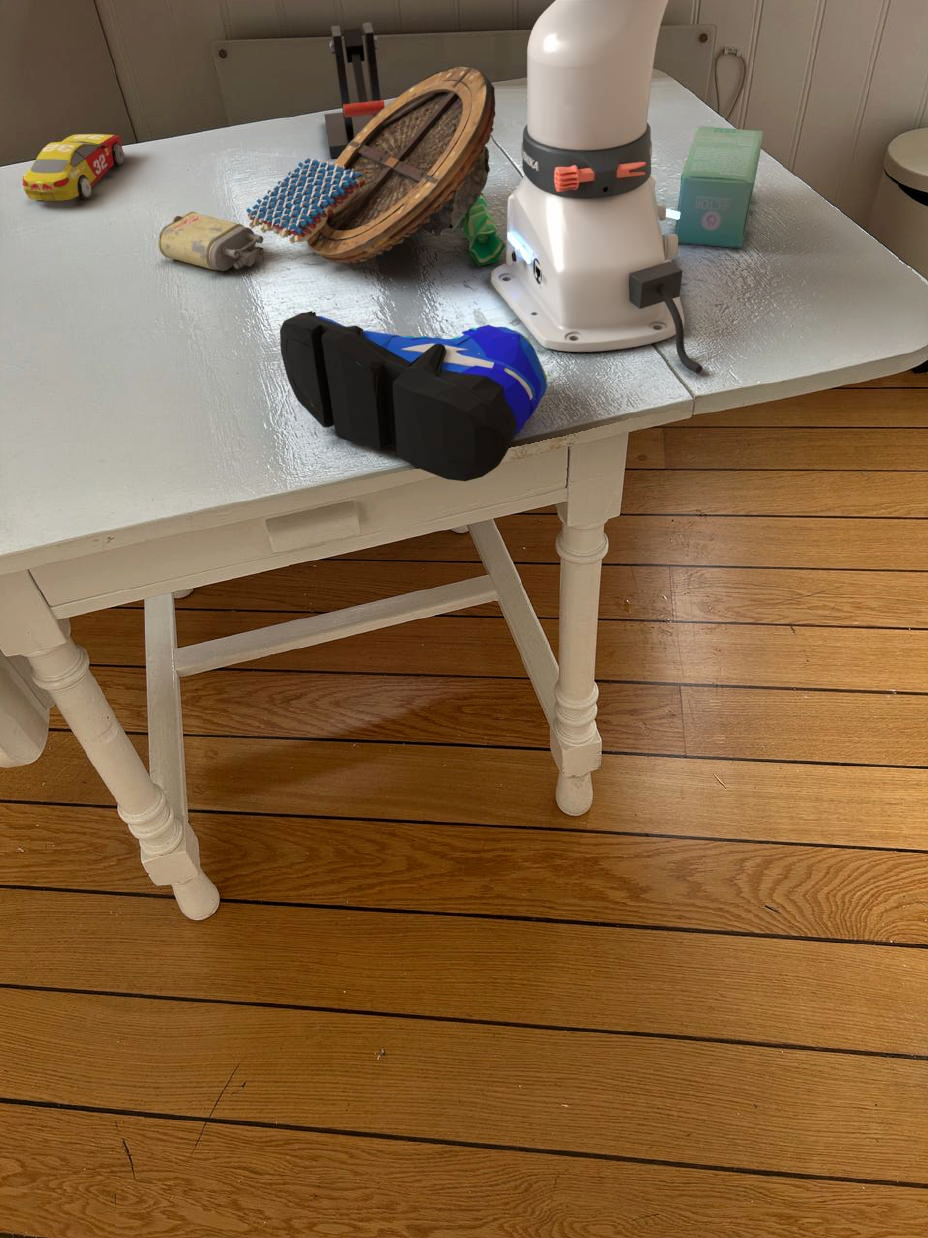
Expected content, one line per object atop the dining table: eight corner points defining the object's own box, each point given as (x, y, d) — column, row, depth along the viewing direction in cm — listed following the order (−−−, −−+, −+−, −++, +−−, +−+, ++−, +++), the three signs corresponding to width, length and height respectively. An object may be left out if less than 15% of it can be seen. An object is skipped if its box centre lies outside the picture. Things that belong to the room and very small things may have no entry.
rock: (433, 278, 98) (516, 259, 101) (431, 177, 90) (521, 159, 93) (368, 217, 108) (445, 201, 111) (361, 122, 101) (444, 108, 104)
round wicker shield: (450, 71, 107) (300, 233, 112) (433, 47, 105) (282, 214, 110) (542, 110, 89) (359, 303, 93) (524, 83, 87) (338, 281, 91)
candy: (472, 178, 104) (492, 207, 107) (447, 197, 105) (467, 225, 108) (489, 223, 96) (510, 254, 99) (462, 244, 97) (484, 273, 100)
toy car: (133, 154, 126) (122, 115, 122) (78, 211, 114) (64, 170, 110) (80, 153, 127) (67, 114, 123) (20, 210, 115) (4, 168, 112)
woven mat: (314, 168, 104) (306, 152, 103) (373, 185, 98) (365, 168, 96) (247, 228, 102) (238, 211, 100) (303, 249, 96) (294, 232, 94)
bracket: (406, 150, 122) (396, 38, 113) (330, 158, 121) (314, 47, 112) (397, 117, 130) (387, 11, 121) (325, 125, 129) (310, 19, 120)
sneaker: (266, 409, 82) (375, 345, 91) (488, 503, 72) (585, 421, 81) (251, 308, 76) (369, 250, 85) (492, 397, 66) (597, 320, 75)
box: (671, 245, 100) (680, 173, 95) (687, 192, 109) (696, 124, 103) (742, 251, 99) (755, 178, 93) (751, 197, 107) (764, 128, 102)
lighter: (161, 262, 103) (232, 282, 100) (152, 228, 101) (224, 247, 97) (204, 236, 108) (273, 254, 104) (196, 203, 105) (267, 220, 101)
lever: (385, 118, 116) (384, 103, 114) (345, 123, 116) (343, 107, 113) (372, 42, 119) (371, 26, 117) (333, 46, 119) (331, 30, 117)
